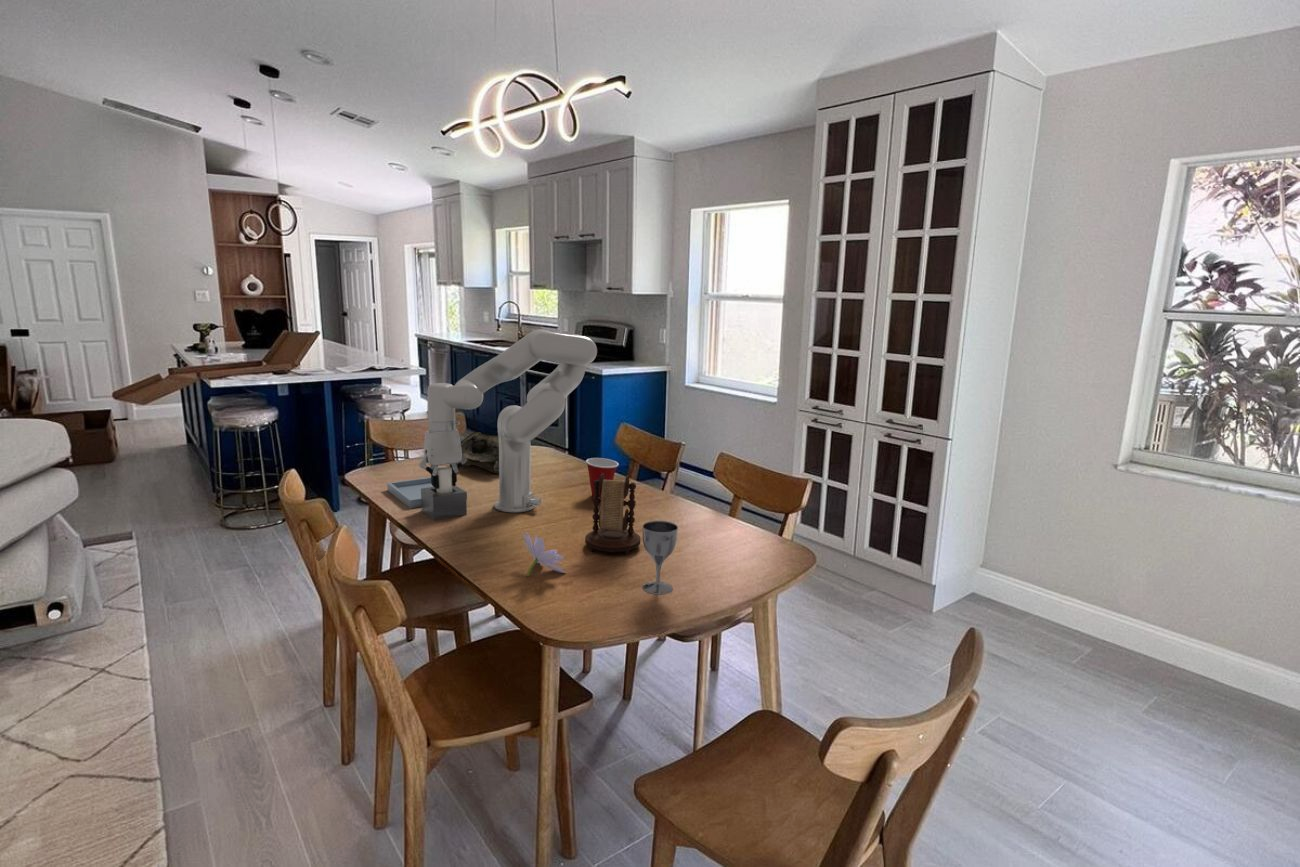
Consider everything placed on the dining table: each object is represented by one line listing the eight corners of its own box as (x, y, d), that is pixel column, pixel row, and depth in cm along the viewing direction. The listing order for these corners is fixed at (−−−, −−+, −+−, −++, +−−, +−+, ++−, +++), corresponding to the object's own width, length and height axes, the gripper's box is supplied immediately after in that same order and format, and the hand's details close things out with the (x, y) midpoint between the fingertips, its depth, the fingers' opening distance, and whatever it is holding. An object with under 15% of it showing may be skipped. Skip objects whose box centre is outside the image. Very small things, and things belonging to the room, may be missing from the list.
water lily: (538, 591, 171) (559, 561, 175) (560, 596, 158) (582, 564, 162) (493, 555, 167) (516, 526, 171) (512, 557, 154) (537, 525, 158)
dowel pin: (455, 507, 205) (454, 468, 203) (440, 510, 202) (439, 471, 200) (449, 503, 209) (448, 465, 206) (434, 506, 206) (433, 467, 203)
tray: (466, 499, 219) (466, 491, 219) (410, 508, 209) (410, 500, 208) (441, 482, 236) (440, 475, 236) (387, 490, 226) (387, 482, 225)
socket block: (466, 514, 205) (466, 492, 204) (433, 520, 199) (433, 497, 198) (453, 505, 213) (453, 483, 211) (421, 510, 207) (420, 488, 205)
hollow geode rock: (507, 489, 248) (532, 456, 252) (484, 470, 240) (511, 436, 244) (468, 470, 267) (492, 440, 272) (446, 451, 259) (471, 421, 264)
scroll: (579, 554, 178) (580, 479, 174) (591, 535, 192) (593, 465, 188) (635, 559, 176) (638, 484, 172) (644, 539, 191) (646, 469, 186)
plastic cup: (616, 501, 223) (617, 465, 221) (583, 500, 223) (584, 464, 221) (618, 492, 234) (619, 457, 231) (587, 490, 234) (587, 456, 232)
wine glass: (673, 580, 164) (676, 521, 161) (675, 595, 156) (679, 532, 153) (640, 580, 164) (642, 520, 161) (640, 594, 156) (643, 531, 153)
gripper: (464, 421, 208) (466, 479, 212) (408, 426, 198) (411, 487, 202) (475, 425, 203) (476, 485, 206) (417, 431, 192) (420, 493, 196)
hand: (444, 485), depth 204 cm, fingers closed on dowel pin, 4 cm apart
